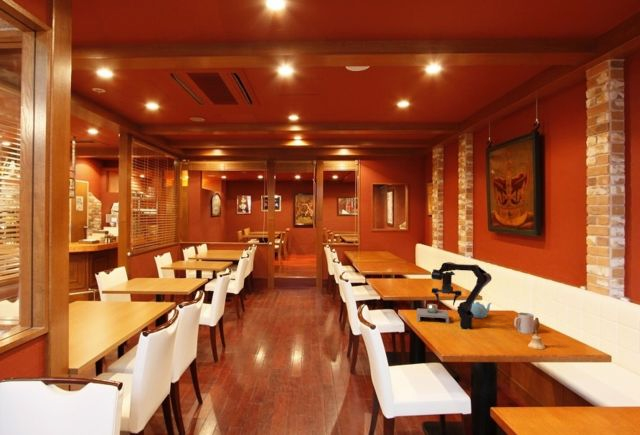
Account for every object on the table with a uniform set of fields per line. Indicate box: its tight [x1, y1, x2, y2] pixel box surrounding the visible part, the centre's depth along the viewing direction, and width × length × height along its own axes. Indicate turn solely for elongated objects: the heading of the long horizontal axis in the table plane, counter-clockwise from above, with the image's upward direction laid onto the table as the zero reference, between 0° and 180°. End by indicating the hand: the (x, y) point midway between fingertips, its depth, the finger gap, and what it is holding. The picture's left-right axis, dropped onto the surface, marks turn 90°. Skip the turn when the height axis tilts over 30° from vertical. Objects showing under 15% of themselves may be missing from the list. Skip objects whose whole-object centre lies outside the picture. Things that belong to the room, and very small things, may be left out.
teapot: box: [471, 301, 492, 319], centre depth 270 cm, size 15×15×10 cm
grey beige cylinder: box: [426, 303, 438, 320], centre depth 261 cm, size 6×6×9 cm
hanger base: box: [416, 308, 450, 324], centre depth 261 cm, size 20×16×5 cm
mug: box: [514, 312, 535, 335], centre depth 234 cm, size 12×8×11 cm
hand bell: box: [527, 317, 546, 350], centre depth 208 cm, size 8×8×16 cm
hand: (446, 304), depth 251 cm, fingers open, 9 cm apart
